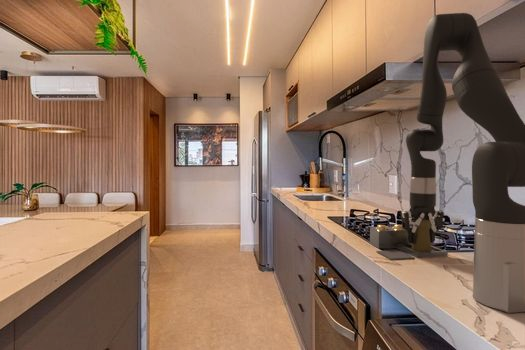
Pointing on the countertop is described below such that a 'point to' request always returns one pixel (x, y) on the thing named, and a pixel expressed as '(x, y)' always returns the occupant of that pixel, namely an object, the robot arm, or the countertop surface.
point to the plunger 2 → (398, 227)
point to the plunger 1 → (381, 227)
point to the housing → (400, 242)
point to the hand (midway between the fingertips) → (421, 242)
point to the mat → (395, 255)
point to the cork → (422, 237)
